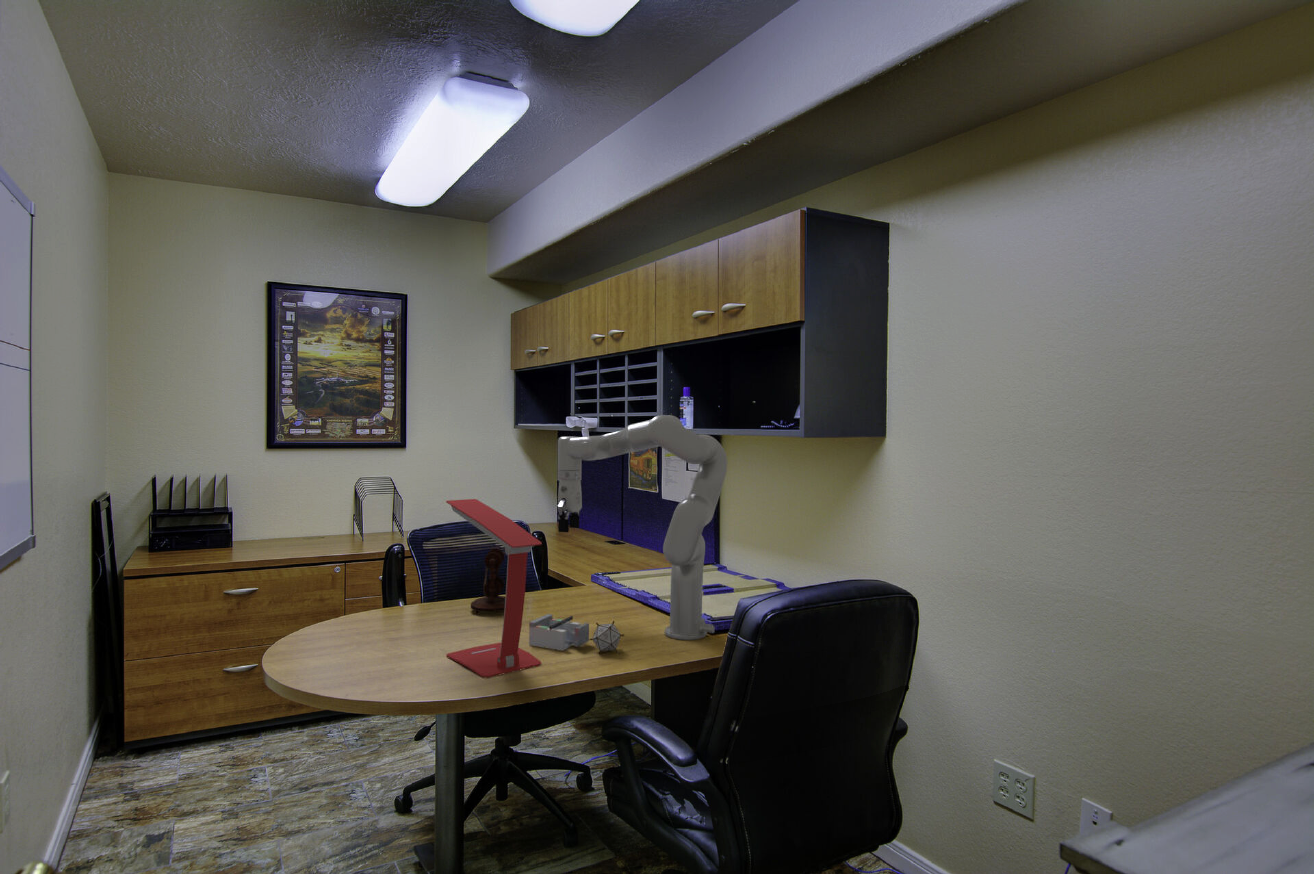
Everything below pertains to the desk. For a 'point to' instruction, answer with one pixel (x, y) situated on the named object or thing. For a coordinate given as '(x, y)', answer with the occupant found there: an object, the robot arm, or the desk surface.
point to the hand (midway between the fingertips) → (569, 529)
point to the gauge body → (550, 633)
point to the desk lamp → (516, 547)
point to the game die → (606, 637)
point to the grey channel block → (574, 632)
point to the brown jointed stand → (491, 585)
